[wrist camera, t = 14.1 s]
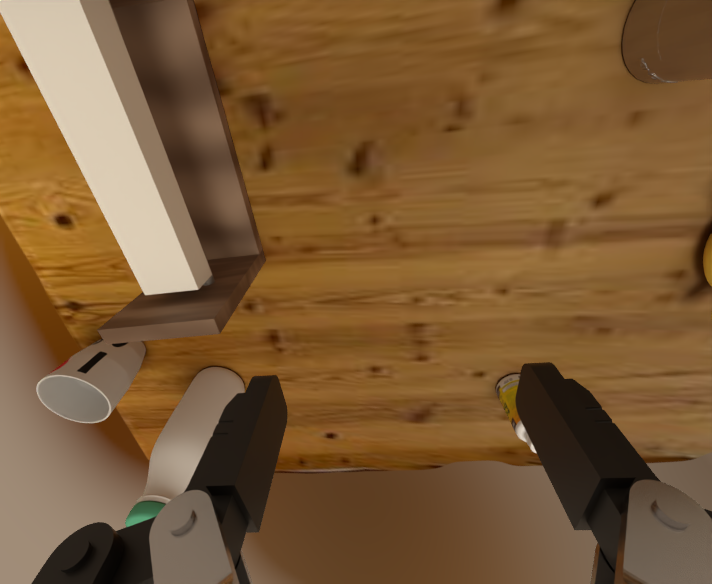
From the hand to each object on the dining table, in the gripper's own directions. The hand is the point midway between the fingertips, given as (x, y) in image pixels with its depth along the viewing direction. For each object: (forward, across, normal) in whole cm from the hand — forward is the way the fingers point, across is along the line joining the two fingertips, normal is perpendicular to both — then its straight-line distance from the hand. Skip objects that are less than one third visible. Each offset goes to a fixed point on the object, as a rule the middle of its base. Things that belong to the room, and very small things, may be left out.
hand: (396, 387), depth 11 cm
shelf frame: (+28, +19, -6) cm, 35 cm away
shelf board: (+20, +19, -6) cm, 28 cm away
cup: (+28, +37, +18) cm, 50 cm away
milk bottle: (+28, +26, +27) cm, 47 cm away
